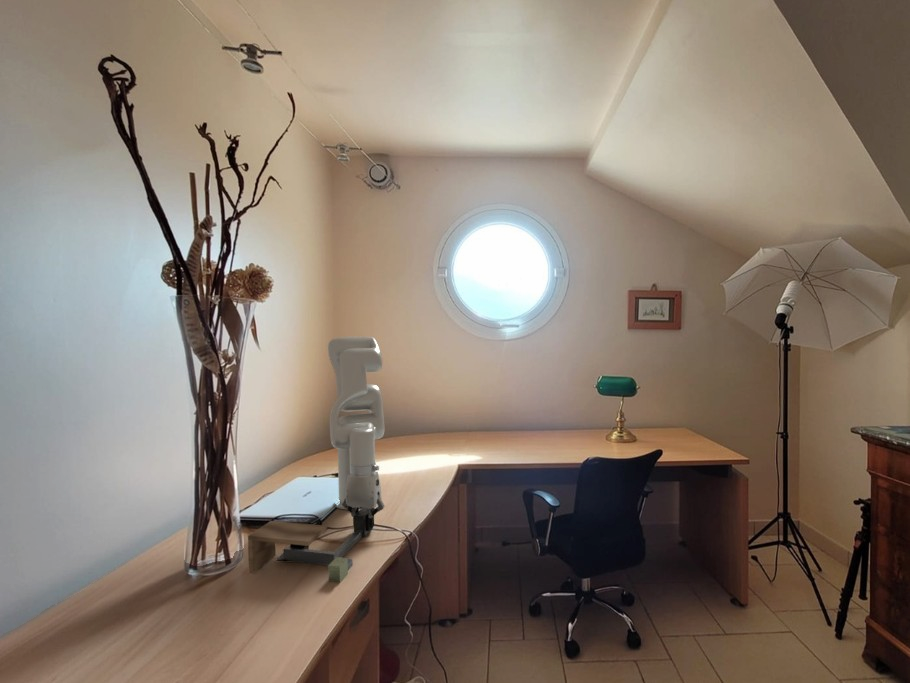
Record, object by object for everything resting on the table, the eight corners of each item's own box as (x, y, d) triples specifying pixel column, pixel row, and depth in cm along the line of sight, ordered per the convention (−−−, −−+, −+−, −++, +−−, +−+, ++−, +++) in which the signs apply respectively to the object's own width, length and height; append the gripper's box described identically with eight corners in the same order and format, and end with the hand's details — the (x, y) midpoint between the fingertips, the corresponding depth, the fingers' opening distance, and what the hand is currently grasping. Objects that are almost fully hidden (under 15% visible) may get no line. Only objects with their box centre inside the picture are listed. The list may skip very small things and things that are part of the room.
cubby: (271, 555, 117) (270, 520, 117) (328, 561, 113) (327, 525, 113) (248, 573, 108) (248, 535, 108) (309, 580, 104) (308, 541, 104)
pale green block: (344, 564, 111) (344, 549, 111) (355, 565, 111) (354, 550, 111) (328, 581, 103) (328, 565, 103) (340, 583, 103) (339, 566, 103)
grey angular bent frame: (327, 523, 136) (326, 504, 136) (373, 527, 132) (372, 508, 132) (283, 560, 114) (282, 537, 114) (337, 566, 110) (336, 543, 110)
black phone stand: (326, 552, 119) (326, 535, 119) (315, 566, 112) (315, 548, 112) (283, 550, 120) (283, 534, 120) (270, 564, 113) (270, 546, 113)
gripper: (392, 466, 131) (393, 525, 132) (343, 463, 135) (344, 521, 135) (383, 474, 124) (384, 537, 124) (331, 471, 128) (332, 532, 128)
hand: (363, 528), depth 130 cm, fingers closed on grey angular bent frame, 3 cm apart
